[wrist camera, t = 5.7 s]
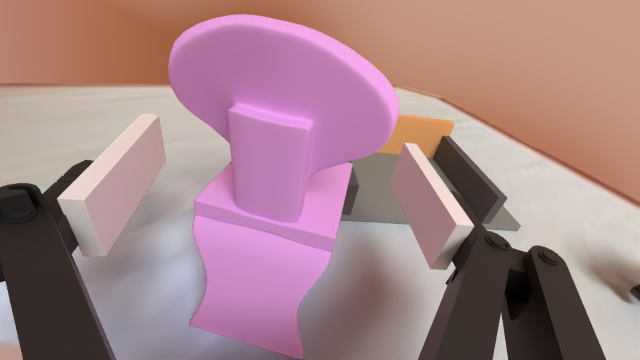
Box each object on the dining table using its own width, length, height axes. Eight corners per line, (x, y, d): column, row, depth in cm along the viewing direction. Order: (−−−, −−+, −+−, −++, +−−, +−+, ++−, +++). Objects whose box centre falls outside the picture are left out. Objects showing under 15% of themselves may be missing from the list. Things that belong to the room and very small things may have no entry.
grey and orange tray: (300, 217, 24) (309, 164, 21) (297, 140, 34) (302, 98, 31) (517, 230, 27) (551, 186, 24) (453, 156, 37) (471, 119, 34)
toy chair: (344, 243, 22) (412, 24, 14) (320, 366, 15) (432, 66, 6) (241, 215, 23) (243, -12, 14) (171, 319, 16) (92, -9, 7)
